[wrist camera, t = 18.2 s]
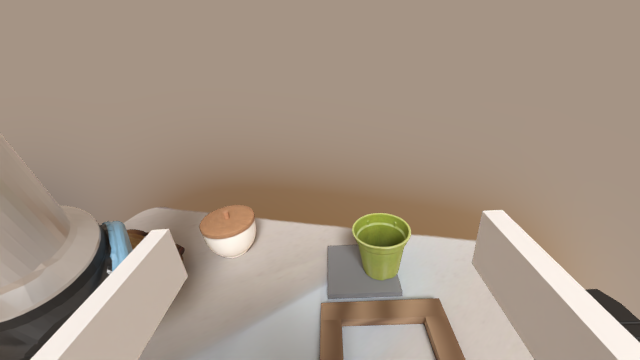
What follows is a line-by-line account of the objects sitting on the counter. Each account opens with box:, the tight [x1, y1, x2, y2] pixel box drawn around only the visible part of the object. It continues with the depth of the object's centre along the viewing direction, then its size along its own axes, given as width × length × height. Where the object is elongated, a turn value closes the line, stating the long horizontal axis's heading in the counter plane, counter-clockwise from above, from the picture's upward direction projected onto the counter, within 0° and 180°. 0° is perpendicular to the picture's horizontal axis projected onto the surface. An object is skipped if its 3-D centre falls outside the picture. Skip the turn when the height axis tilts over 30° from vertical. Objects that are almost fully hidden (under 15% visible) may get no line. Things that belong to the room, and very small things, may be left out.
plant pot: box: [352, 213, 411, 280], centre depth 47 cm, size 9×9×9 cm
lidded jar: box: [200, 205, 256, 258], centre depth 57 cm, size 11×11×9 cm
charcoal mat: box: [328, 245, 402, 299], centre depth 50 cm, size 12×12×1 cm
